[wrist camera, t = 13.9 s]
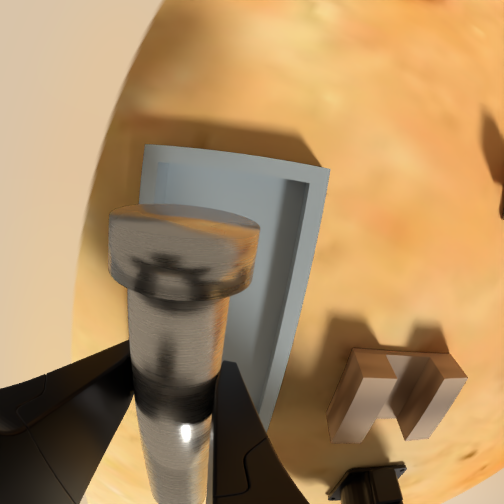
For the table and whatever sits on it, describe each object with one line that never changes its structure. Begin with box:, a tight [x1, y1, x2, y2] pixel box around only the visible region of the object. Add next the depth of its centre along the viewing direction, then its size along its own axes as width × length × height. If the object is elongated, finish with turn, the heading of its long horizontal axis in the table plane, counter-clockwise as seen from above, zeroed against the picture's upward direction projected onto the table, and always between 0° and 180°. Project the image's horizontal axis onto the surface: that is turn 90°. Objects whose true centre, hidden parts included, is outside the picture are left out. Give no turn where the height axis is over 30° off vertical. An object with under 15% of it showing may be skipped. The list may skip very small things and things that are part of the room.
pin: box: [108, 204, 260, 504], centre depth 8 cm, size 12×3×3 cm, turn 171°
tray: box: [139, 144, 330, 433], centre depth 16 cm, size 17×9×2 cm, turn 171°
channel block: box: [326, 348, 468, 443], centre depth 17 cm, size 6×8×3 cm
